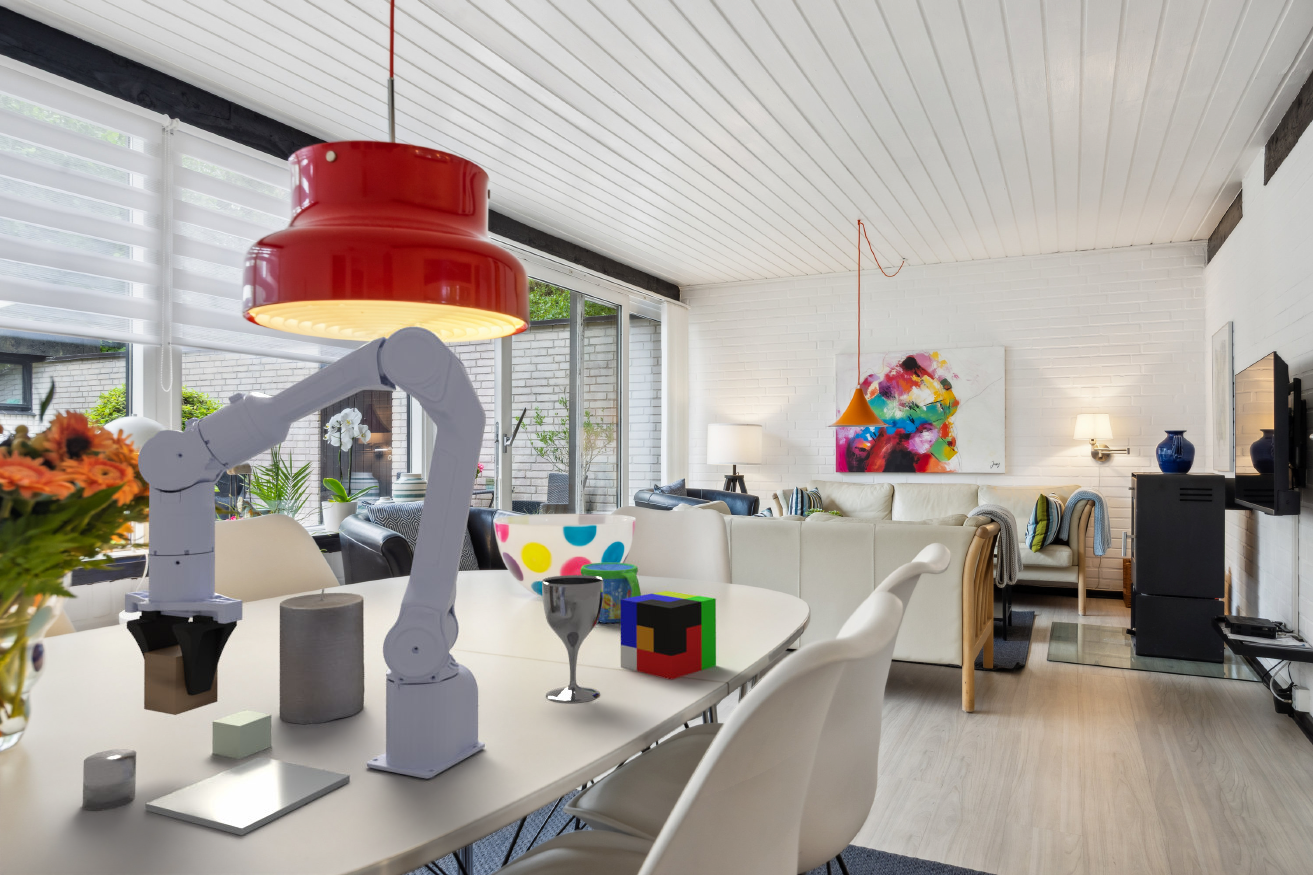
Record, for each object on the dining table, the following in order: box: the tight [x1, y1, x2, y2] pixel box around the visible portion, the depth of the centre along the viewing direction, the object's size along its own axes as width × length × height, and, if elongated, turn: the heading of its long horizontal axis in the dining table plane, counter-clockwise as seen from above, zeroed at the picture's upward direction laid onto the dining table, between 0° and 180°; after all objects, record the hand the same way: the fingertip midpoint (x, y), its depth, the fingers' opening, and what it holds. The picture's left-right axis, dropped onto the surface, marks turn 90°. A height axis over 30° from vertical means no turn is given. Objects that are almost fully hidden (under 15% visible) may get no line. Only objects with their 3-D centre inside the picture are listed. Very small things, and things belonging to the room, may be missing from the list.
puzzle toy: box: [620, 590, 717, 680], centre depth 121 cm, size 10×10×10 cm
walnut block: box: [143, 645, 219, 716], centre depth 81 cm, size 4×4×6 cm
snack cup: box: [580, 562, 642, 624], centre depth 154 cm, size 16×10×10 cm
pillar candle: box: [279, 588, 365, 725], centre depth 100 cm, size 10×10×15 cm
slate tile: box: [145, 756, 351, 836], centre depth 75 cm, size 12×12×1 cm
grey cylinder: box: [82, 748, 137, 812], centre depth 74 cm, size 4×4×4 cm
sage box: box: [211, 709, 272, 760], centre depth 87 cm, size 4×4×4 cm
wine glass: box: [541, 574, 603, 704], centre depth 107 cm, size 8×8×15 cm
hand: (181, 689), depth 81 cm, fingers closed on walnut block, 4 cm apart
